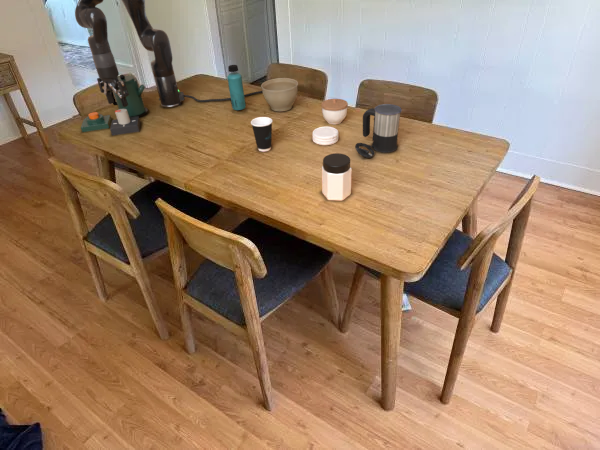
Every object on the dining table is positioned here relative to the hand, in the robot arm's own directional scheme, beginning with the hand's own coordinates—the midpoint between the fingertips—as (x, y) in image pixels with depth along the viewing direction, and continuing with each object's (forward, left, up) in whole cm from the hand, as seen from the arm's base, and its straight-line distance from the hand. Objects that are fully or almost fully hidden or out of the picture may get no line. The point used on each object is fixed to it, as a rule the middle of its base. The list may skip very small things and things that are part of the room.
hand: (118, 104), depth 169 cm
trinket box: (-86, +24, -11) cm, 90 cm away
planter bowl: (-68, +2, -11) cm, 69 cm away
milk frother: (-92, +54, -11) cm, 107 cm away
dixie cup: (-53, +39, -11) cm, 67 cm away
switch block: (+13, -9, -11) cm, 19 cm away
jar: (-69, +77, -11) cm, 104 cm away
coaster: (-77, +40, -11) cm, 87 cm away
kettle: (-2, -16, -11) cm, 19 cm away
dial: (0, 0, -8) cm, 8 cm away
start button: (+13, -9, -7) cm, 17 cm away
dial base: (0, 0, -11) cm, 11 cm away
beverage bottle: (-49, -2, -11) cm, 50 cm away
